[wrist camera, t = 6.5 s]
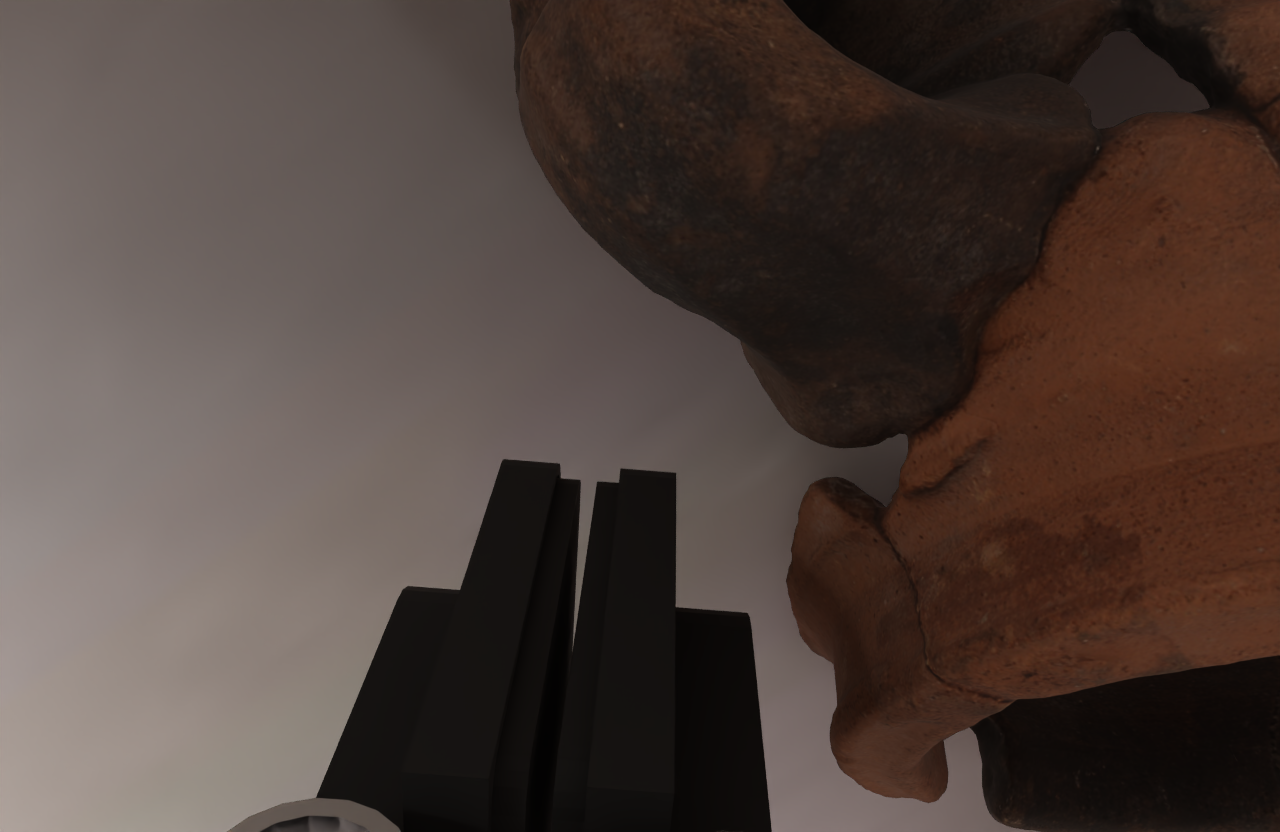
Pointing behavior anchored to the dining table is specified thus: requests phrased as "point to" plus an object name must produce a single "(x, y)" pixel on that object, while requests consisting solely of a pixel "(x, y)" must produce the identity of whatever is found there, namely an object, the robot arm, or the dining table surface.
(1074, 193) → the pottery mug
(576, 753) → the robot arm
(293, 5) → the dining table surface
